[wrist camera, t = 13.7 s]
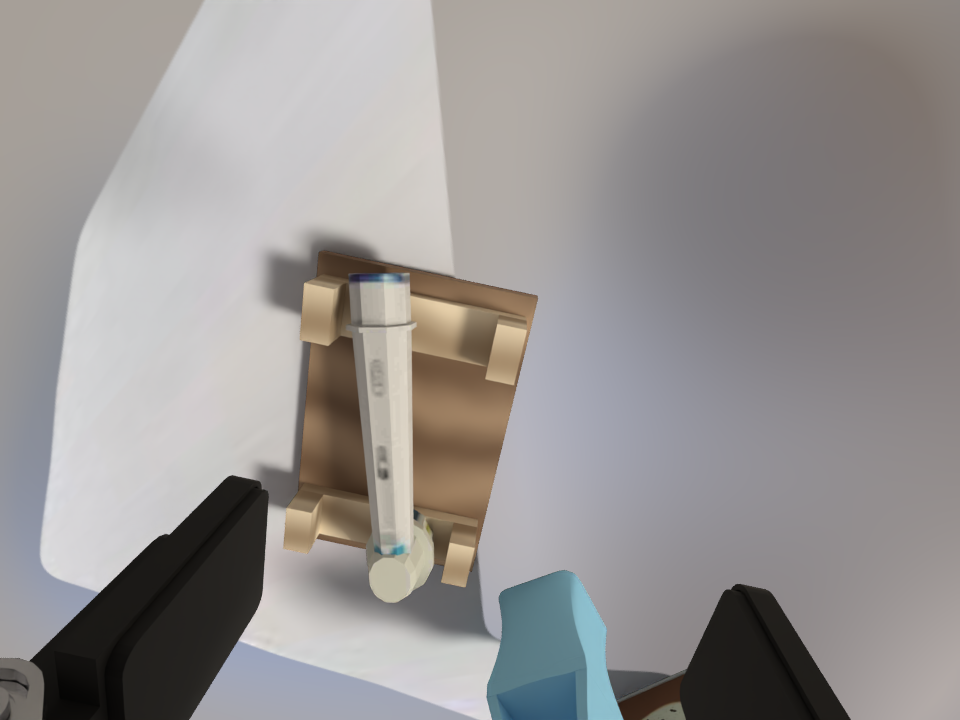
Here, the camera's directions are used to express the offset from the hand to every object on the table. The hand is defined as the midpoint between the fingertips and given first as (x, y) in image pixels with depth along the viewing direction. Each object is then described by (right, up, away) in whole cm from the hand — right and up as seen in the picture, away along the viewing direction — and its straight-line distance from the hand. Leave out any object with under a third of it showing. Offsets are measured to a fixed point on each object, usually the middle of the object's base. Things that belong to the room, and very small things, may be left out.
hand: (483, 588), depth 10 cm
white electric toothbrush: (-6, -1, +29) cm, 30 cm away
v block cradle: (-6, -1, +31) cm, 31 cm away
